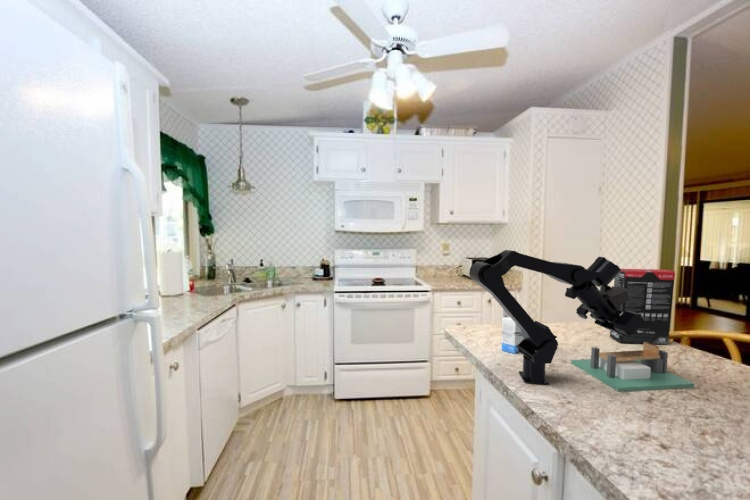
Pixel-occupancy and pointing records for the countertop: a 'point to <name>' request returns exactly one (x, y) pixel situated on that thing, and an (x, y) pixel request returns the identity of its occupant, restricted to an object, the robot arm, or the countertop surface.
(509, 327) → the ink box
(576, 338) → the countertop surface
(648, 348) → the strip
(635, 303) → the graphics card box
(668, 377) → the socket board
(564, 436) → the countertop surface
